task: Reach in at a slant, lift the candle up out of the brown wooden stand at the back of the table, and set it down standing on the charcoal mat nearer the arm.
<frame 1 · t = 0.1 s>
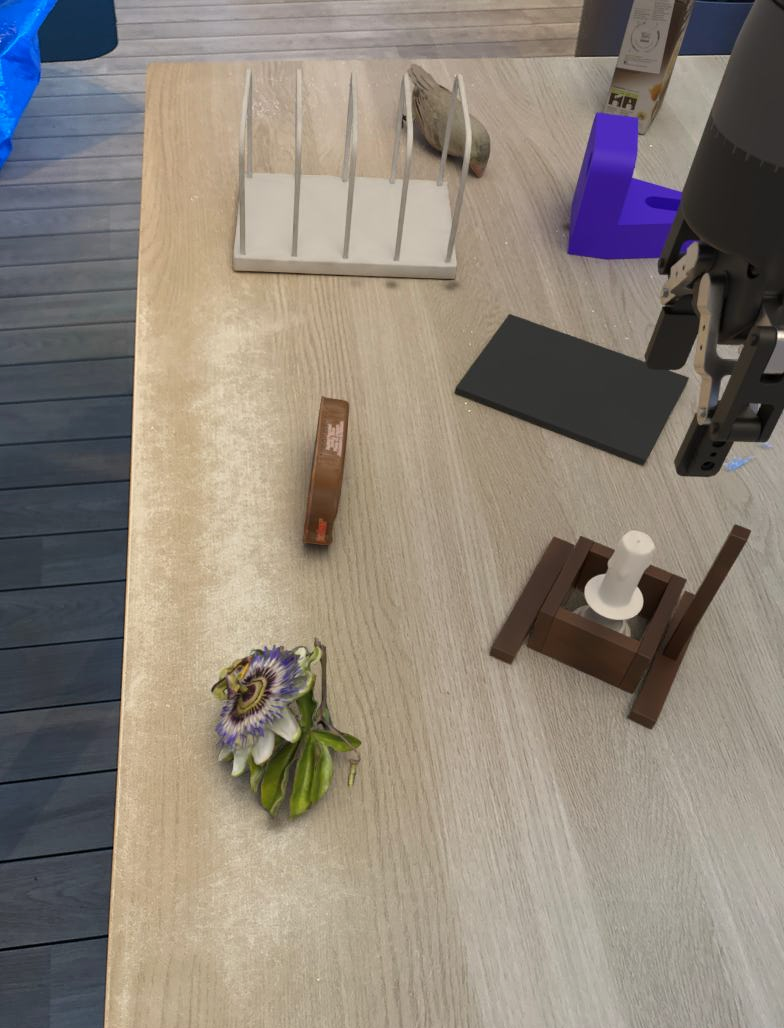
hand: (677, 416, 54), 30 cm above the table, tool pointing down, fingers open, 8 cm apart
brown wooden stand: (598, 631, 84), on the table
bracket: (645, 239, 118), on the table
decorative bird: (442, 151, 128), on the table
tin: (324, 504, 92), on the table
mat: (571, 388, 101), on the table
file sorter: (343, 234, 117), on the table
passion flower: (286, 748, 77), on the table
coffee box: (630, 116, 134), on the table
candle: (597, 632, 84), resting in brown wooden stand
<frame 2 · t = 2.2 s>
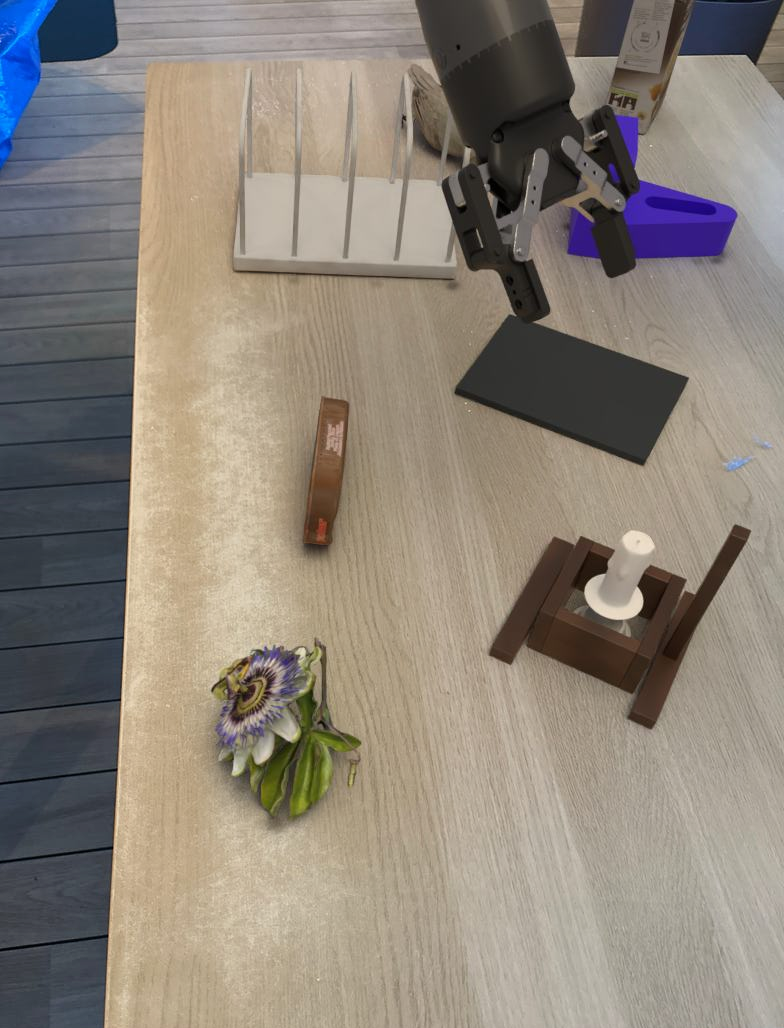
hand: (581, 296, 67), 27 cm above the table, tool tilted 45°, fingers open, 8 cm apart
nothing on the table moved.
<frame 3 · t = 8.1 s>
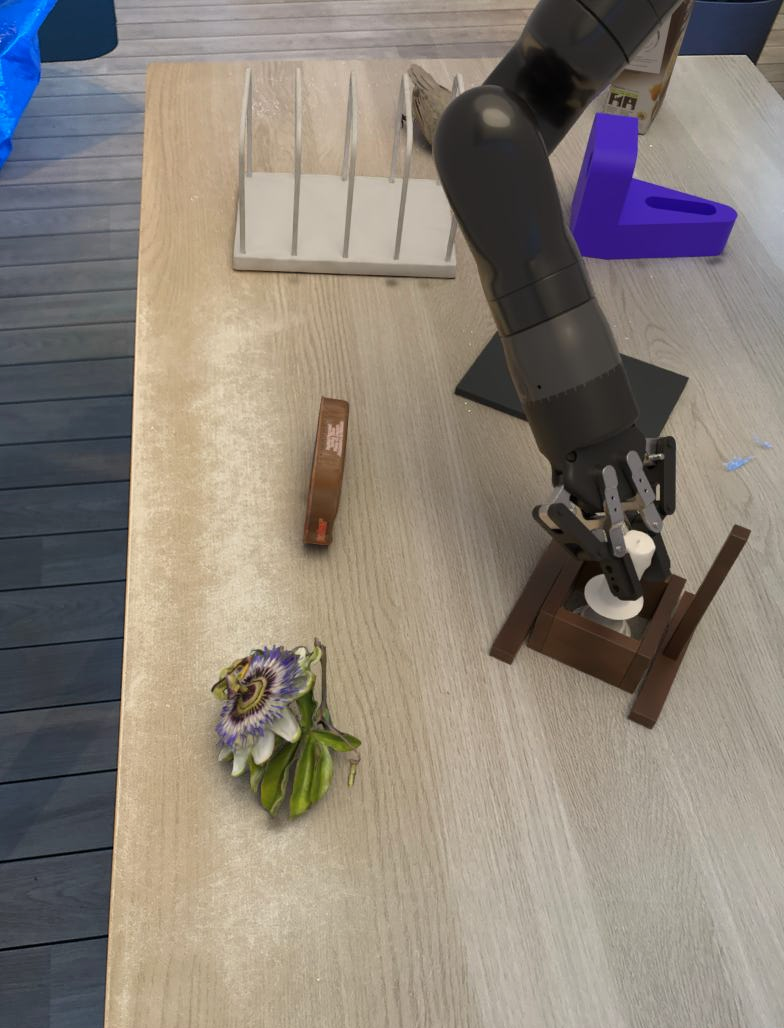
hand: (645, 587, 76), 8 cm above the table, tool tilted 45°, fingers closed on candle, 2 cm apart
candle: (597, 632, 84), resting in brown wooden stand, touching gripper
everything else where it was.
when the fingers open (9 cm above the table, at t = 19.0 s): candle stays where it is, resting on mat.
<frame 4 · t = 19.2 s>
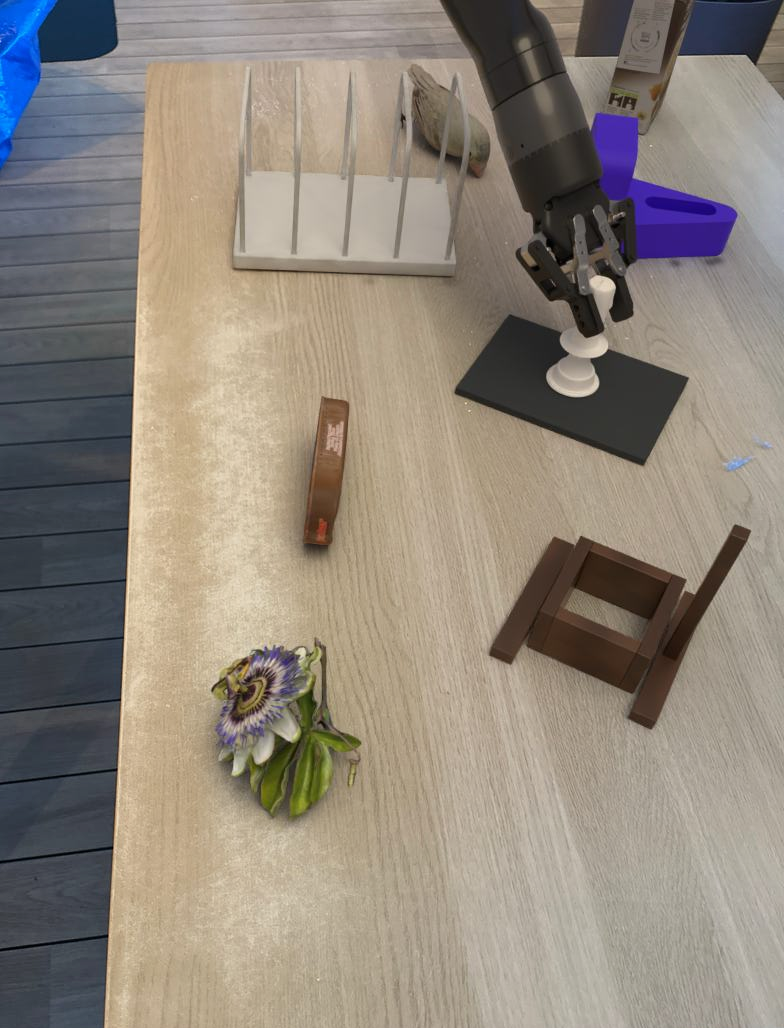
hand: (609, 326, 93), 9 cm above the table, tool tilted 45°, fingers open, 3 cm apart
candle: (571, 382, 101), point 1 cm above the table, touching mat
everything else where it was.
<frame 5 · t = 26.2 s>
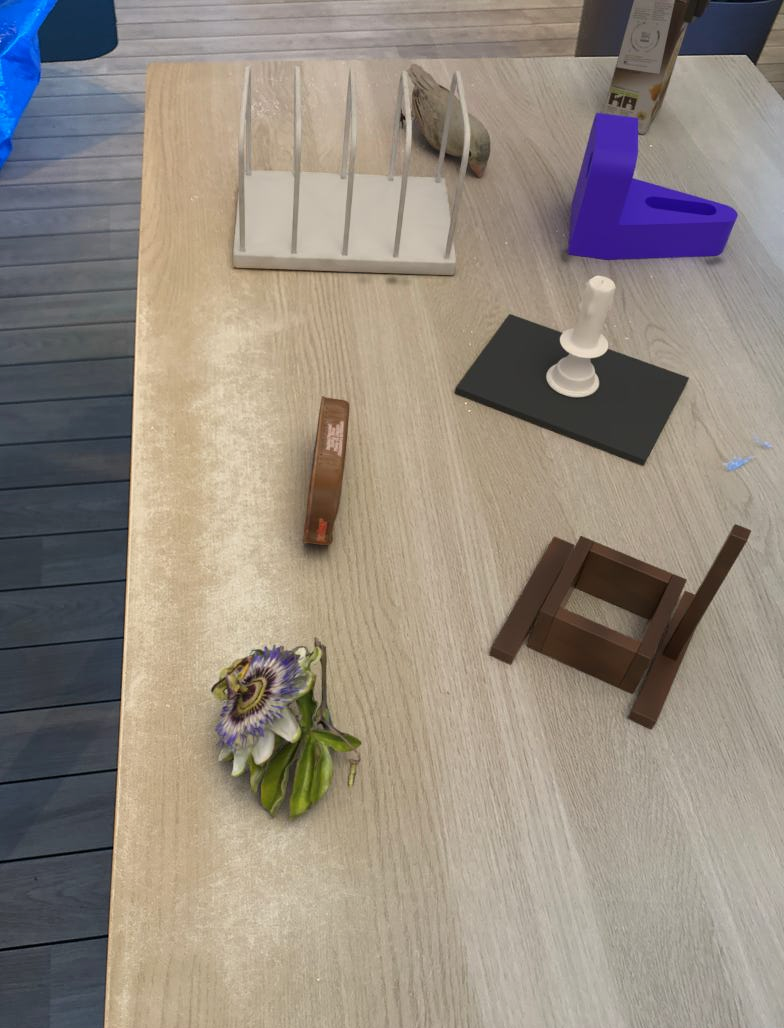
hand: (641, 7, 85), 30 cm above the table, tool pointing down, fingers open, 8 cm apart
nothing on the table moved.
at the end: candle inside the target area on the mat (0.2 cm from its centre), point 0.6 cm above the mat's base; candle tilted 0°; the gripper is holding nothing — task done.
